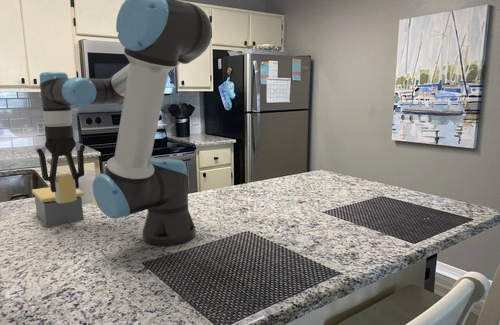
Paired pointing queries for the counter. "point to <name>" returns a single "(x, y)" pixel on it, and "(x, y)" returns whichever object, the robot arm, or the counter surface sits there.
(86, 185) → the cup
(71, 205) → the tub
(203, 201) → the counter surface
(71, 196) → the lid
